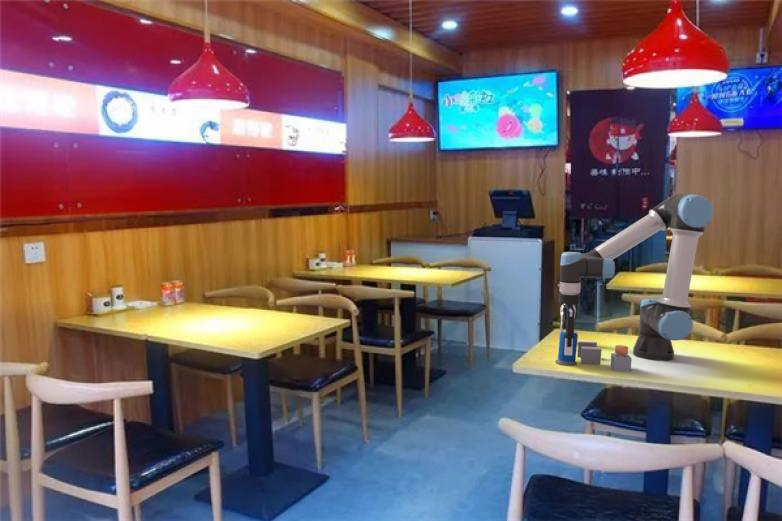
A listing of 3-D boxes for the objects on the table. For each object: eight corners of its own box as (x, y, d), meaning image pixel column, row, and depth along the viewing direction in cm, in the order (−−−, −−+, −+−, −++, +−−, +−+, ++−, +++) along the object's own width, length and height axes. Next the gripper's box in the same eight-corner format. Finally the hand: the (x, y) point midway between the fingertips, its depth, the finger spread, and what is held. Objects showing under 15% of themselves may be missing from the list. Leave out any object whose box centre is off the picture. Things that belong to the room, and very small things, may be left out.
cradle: (595, 357, 242) (596, 341, 241) (600, 365, 231) (601, 348, 230) (577, 356, 243) (577, 340, 242) (581, 364, 232) (582, 347, 231)
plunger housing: (627, 367, 229) (627, 354, 228) (630, 371, 223) (631, 358, 222) (610, 366, 230) (611, 353, 229) (613, 370, 224) (614, 357, 223)
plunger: (625, 364, 228) (626, 345, 227) (628, 368, 224) (629, 348, 223) (613, 364, 229) (614, 344, 228) (615, 367, 224) (616, 347, 224)
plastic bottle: (575, 345, 260) (577, 299, 258) (559, 344, 262) (561, 298, 259) (574, 341, 266) (576, 296, 264) (558, 340, 268) (560, 295, 266)
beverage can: (574, 365, 229) (577, 334, 227) (556, 362, 231) (559, 331, 230) (576, 360, 235) (578, 330, 233) (558, 357, 237) (561, 327, 236)
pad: (575, 360, 237) (575, 359, 237) (578, 366, 229) (578, 365, 229) (554, 359, 238) (554, 358, 238) (556, 365, 230) (556, 364, 230)
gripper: (556, 288, 241) (553, 344, 244) (562, 297, 220) (559, 358, 223) (575, 289, 240) (573, 345, 243) (584, 298, 219) (581, 359, 222)
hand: (566, 351), depth 233 cm, fingers open, 9 cm apart
